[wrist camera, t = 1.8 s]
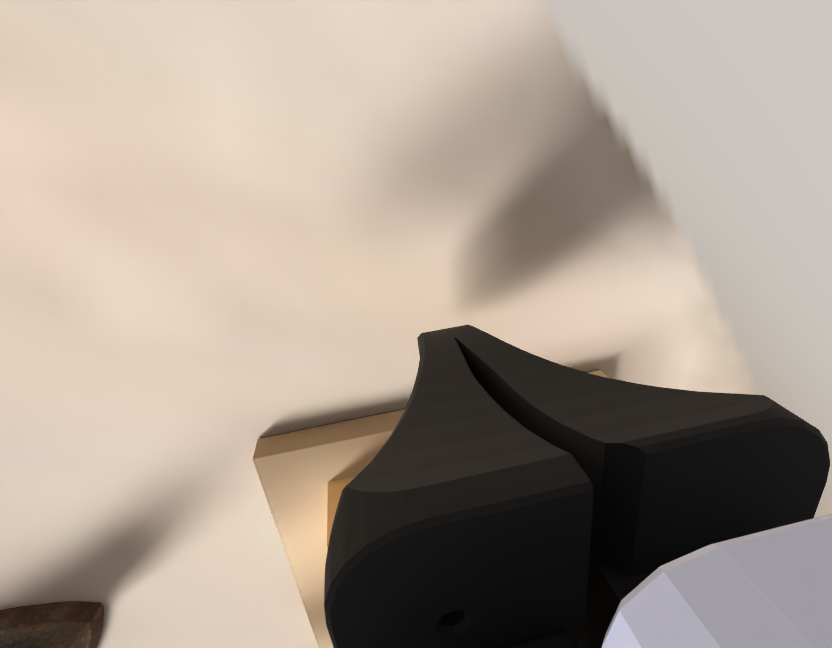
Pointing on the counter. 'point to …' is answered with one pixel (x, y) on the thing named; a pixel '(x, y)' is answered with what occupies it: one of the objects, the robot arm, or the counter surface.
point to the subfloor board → (316, 493)
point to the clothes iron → (52, 625)
